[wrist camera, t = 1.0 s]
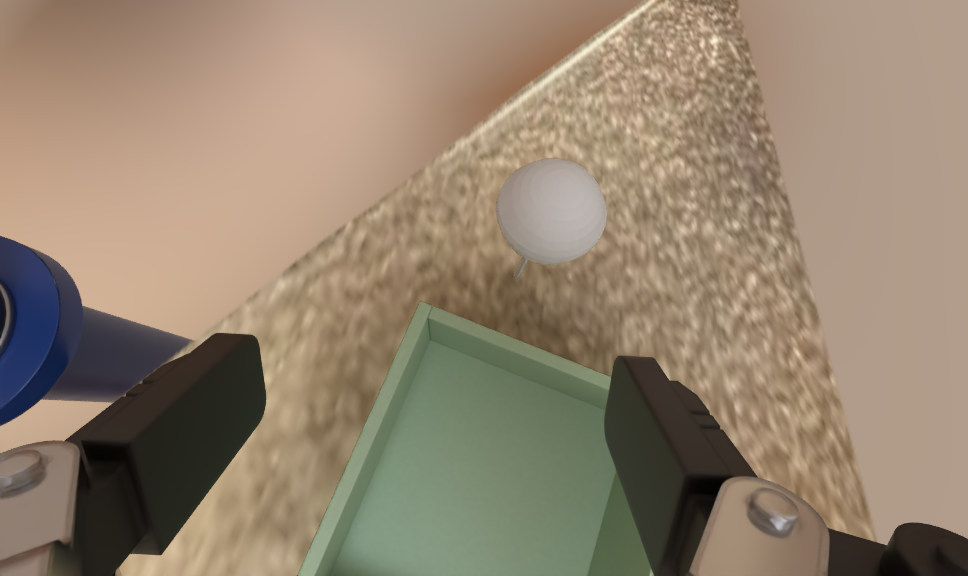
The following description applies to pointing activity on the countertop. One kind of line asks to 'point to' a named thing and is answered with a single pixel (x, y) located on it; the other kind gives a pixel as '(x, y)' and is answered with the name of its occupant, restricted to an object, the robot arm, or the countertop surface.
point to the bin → (480, 467)
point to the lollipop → (551, 212)
